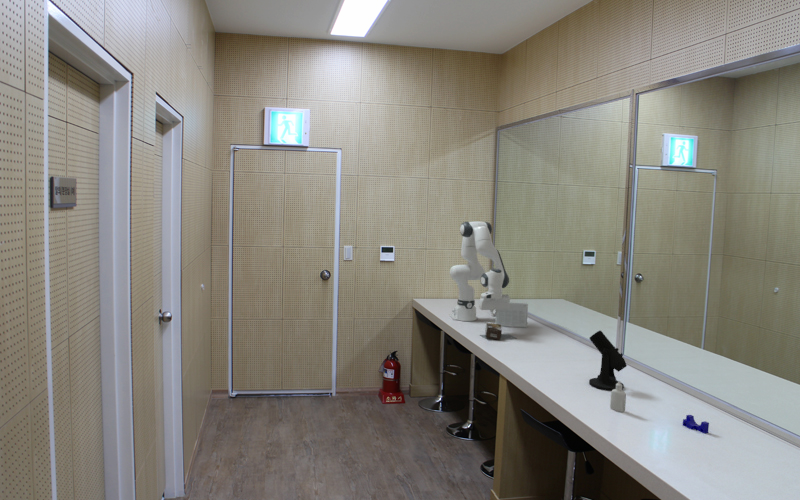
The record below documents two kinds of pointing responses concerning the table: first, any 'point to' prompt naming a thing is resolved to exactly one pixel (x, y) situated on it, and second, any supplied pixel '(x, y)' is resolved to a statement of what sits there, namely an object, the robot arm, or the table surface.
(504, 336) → the mat
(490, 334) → the coffee box
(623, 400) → the eye dropper bottle
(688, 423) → the cable holder
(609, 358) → the microphone
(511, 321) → the skincare box
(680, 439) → the table surface
